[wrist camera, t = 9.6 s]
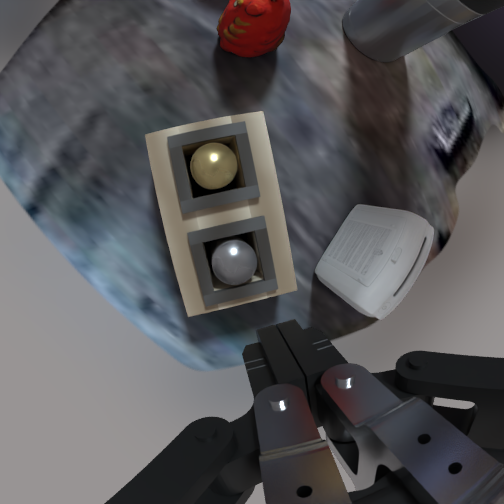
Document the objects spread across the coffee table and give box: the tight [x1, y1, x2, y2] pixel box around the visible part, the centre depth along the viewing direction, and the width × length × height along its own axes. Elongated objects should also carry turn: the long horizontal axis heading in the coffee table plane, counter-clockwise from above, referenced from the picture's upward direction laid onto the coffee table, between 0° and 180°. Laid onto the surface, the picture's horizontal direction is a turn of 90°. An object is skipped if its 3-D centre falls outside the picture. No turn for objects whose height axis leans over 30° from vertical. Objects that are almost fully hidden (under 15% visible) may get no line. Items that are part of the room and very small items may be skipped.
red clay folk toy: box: [217, 0, 291, 57], centre depth 20 cm, size 8×7×15 cm
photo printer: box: [315, 204, 434, 320], centre depth 27 cm, size 10×4×12 cm, turn 147°
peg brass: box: [190, 143, 237, 190], centre depth 25 cm, size 4×4×6 cm
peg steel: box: [210, 234, 257, 285], centre depth 27 cm, size 4×4×6 cm
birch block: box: [145, 111, 297, 317], centre depth 27 cm, size 10×16×7 cm, turn 12°
